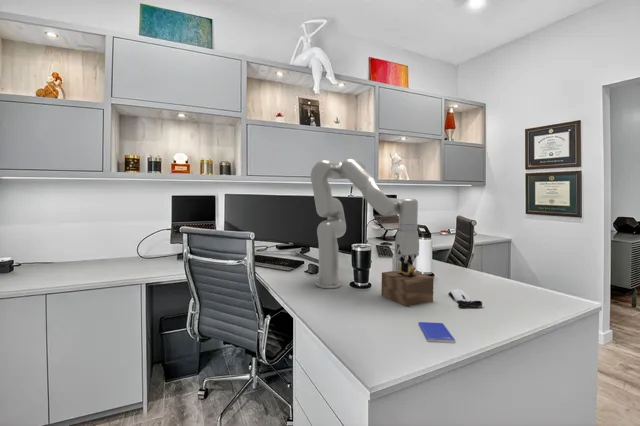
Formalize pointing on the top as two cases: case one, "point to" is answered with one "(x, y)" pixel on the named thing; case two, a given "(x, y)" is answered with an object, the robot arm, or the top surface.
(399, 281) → the wooden tissue box
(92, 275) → the top surface
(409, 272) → the wooden block
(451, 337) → the hard drive
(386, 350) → the top surface
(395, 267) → the supplement can
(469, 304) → the computer mouse
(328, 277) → the robot arm
